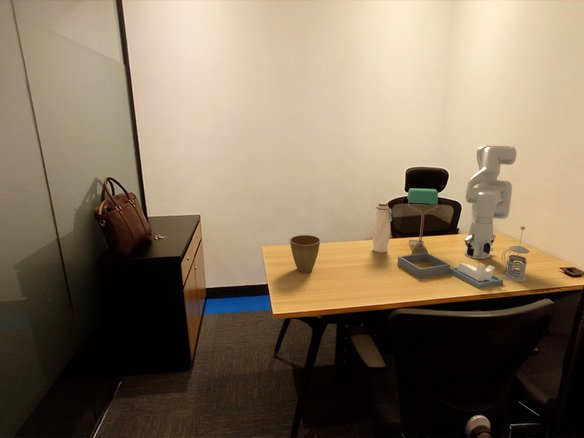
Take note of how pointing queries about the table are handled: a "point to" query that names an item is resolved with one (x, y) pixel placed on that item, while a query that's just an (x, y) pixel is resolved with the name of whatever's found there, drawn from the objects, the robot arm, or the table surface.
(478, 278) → the bracket
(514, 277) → the french press
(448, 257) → the table surface
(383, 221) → the water bottle
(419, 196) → the banker's lamp
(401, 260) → the bin
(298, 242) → the plant pot
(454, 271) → the tray
